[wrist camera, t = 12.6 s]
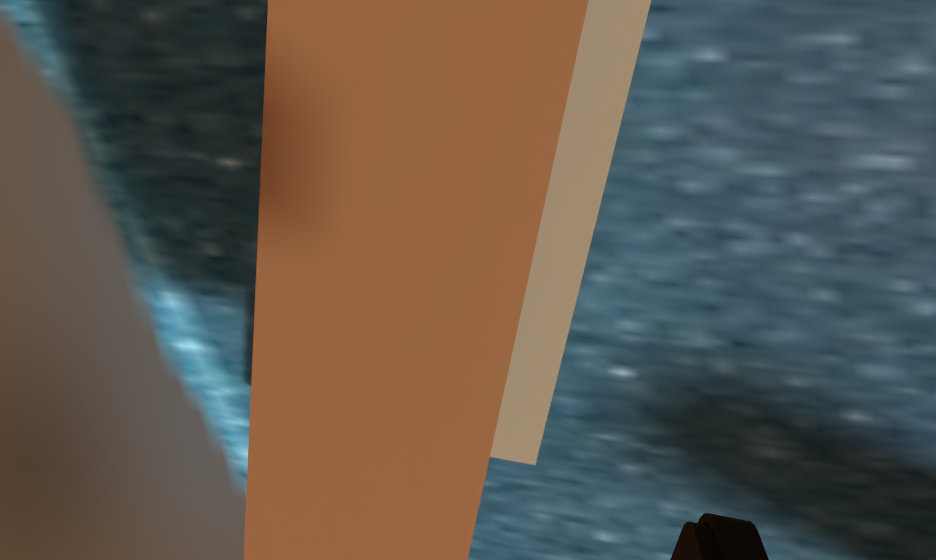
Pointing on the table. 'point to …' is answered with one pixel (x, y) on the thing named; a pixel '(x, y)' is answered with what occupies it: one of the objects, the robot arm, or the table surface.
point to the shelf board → (394, 263)
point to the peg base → (568, 219)
